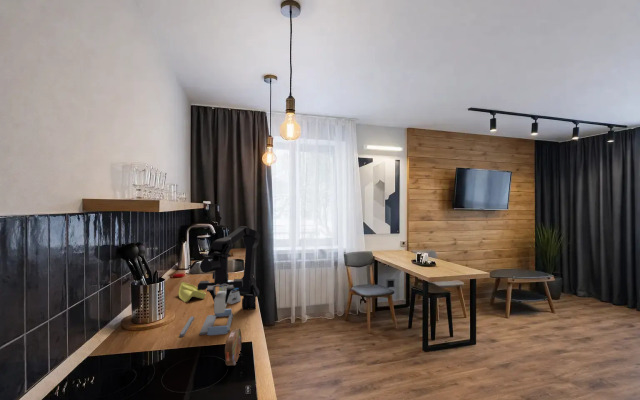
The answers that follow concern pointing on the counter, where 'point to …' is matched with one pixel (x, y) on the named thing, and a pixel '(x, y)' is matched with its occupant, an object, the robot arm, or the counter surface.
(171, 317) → the counter surface
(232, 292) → the light bulb box
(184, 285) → the plastic component
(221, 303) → the white rectangular prism
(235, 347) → the tin
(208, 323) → the grey long bars
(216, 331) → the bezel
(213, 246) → the robot arm
